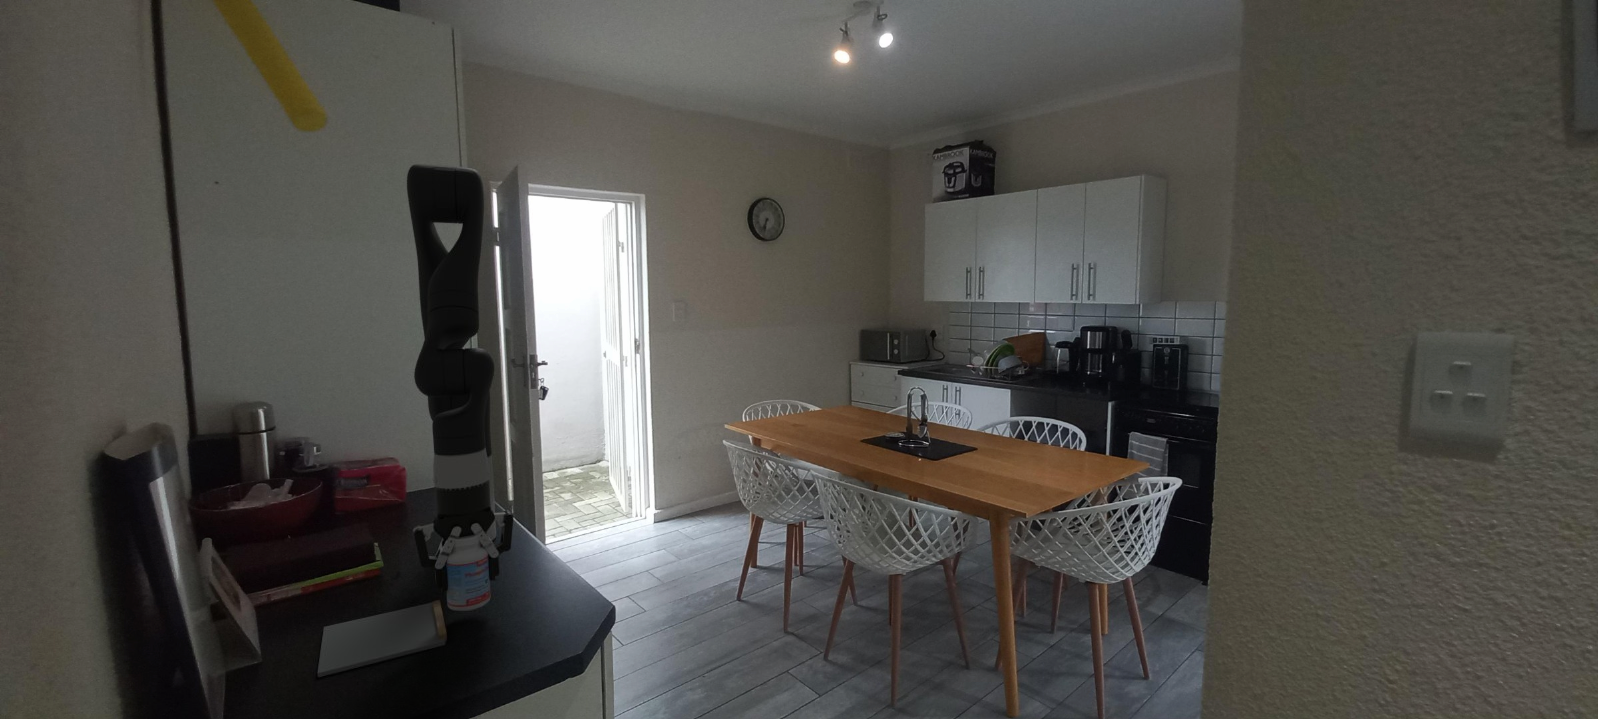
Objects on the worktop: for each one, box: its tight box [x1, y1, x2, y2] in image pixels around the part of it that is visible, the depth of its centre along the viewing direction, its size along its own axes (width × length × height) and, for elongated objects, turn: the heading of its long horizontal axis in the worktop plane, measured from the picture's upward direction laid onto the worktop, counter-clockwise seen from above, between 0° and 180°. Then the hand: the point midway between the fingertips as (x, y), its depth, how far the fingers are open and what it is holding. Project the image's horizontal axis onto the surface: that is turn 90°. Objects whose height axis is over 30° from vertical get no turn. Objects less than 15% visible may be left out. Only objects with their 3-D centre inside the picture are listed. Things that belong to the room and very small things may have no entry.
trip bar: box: [432, 599, 448, 642], centre depth 102 cm, size 12×1×1 cm, turn 32°
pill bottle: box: [445, 535, 492, 612], centre depth 103 cm, size 6×6×11 cm
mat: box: [317, 602, 446, 678], centre depth 98 cm, size 14×15×1 cm
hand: (468, 583), depth 104 cm, fingers closed on pill bottle, 6 cm apart
